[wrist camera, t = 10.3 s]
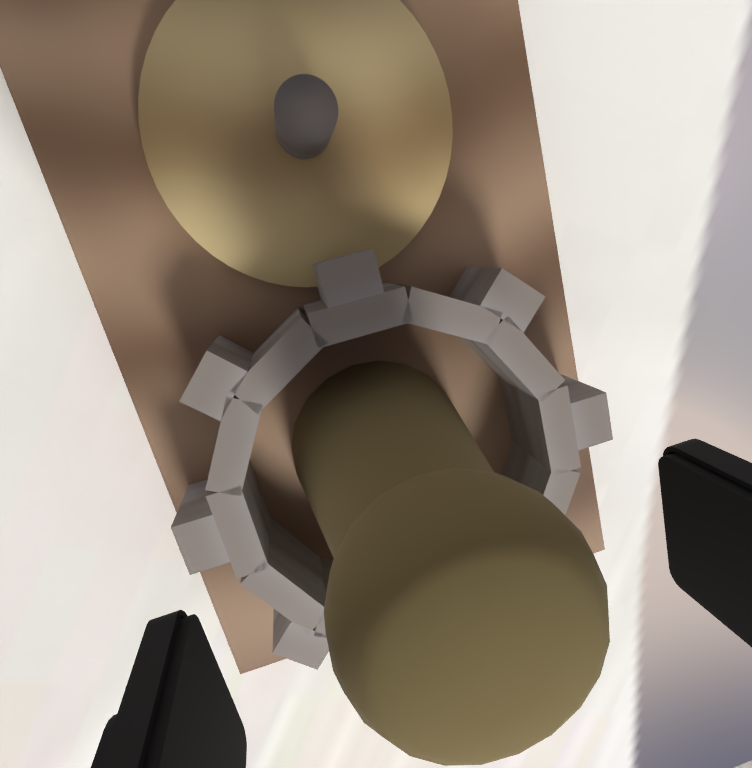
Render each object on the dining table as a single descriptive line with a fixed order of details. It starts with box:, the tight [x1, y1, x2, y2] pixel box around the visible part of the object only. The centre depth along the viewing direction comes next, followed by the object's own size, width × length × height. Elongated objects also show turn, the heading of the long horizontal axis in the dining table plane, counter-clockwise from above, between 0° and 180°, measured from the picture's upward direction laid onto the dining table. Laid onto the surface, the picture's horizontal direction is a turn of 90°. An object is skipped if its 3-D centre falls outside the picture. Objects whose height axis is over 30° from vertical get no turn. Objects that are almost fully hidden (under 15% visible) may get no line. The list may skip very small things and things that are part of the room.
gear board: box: [0, 0, 613, 674], centre depth 17 cm, size 23×15×4 cm, turn 14°
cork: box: [292, 360, 610, 765], centre depth 14 cm, size 6×6×11 cm
